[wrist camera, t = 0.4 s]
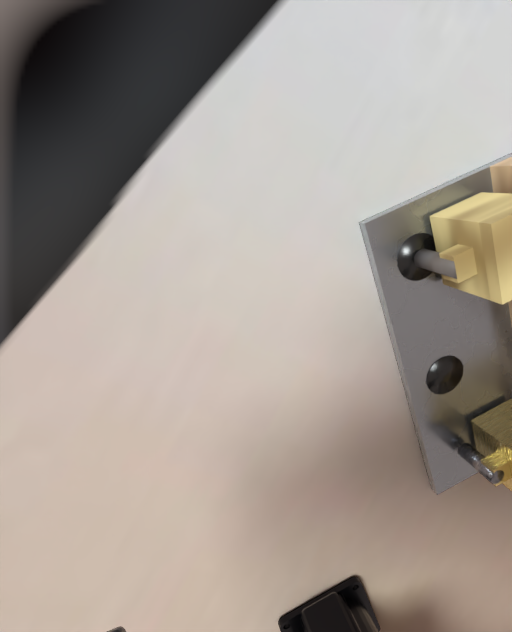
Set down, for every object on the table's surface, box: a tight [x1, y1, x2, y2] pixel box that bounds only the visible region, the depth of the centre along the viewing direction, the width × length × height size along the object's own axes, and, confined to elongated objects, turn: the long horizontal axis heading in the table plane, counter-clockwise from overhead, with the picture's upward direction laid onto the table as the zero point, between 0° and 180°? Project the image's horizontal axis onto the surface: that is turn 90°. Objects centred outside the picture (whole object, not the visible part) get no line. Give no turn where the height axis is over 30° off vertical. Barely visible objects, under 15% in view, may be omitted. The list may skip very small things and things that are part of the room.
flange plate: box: [359, 153, 512, 495], centre depth 26 cm, size 20×11×1 cm, turn 21°
